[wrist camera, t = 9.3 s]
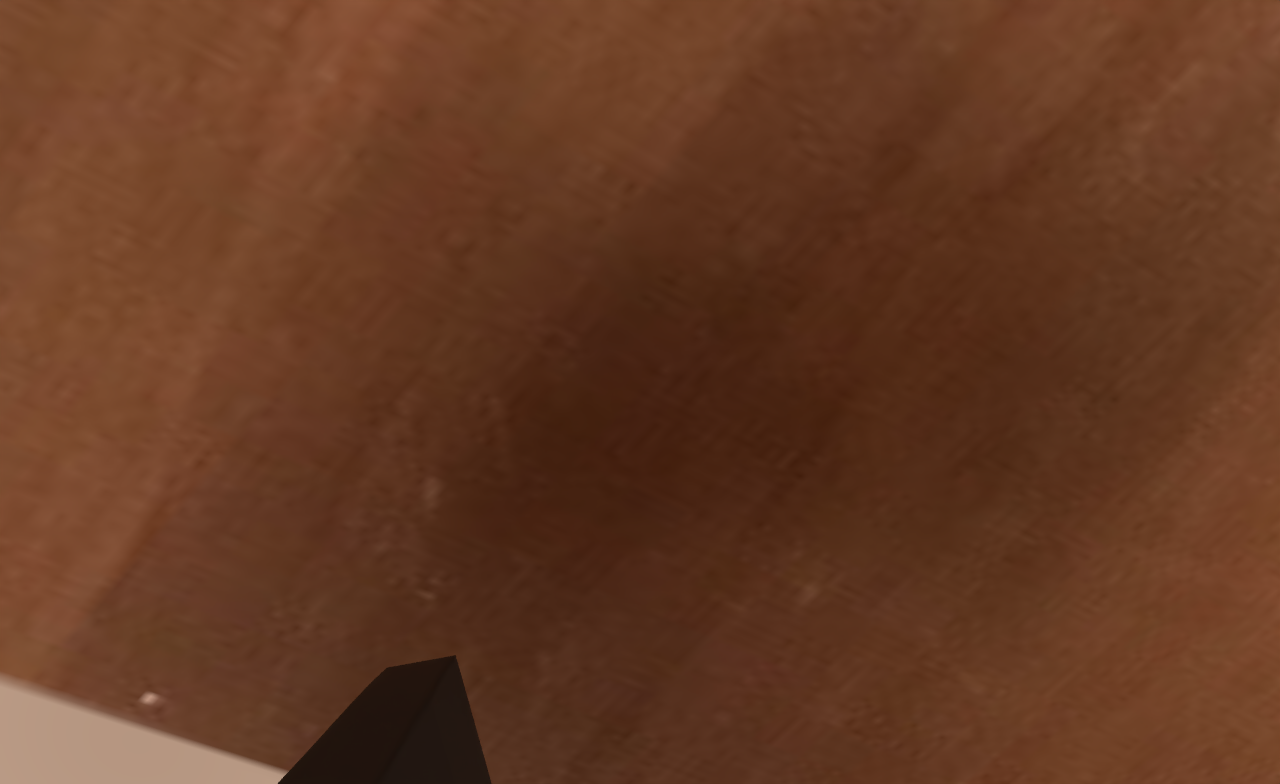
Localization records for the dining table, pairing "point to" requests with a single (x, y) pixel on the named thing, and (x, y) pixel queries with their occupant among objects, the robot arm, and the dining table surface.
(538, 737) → the dining table surface
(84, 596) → the dining table surface
